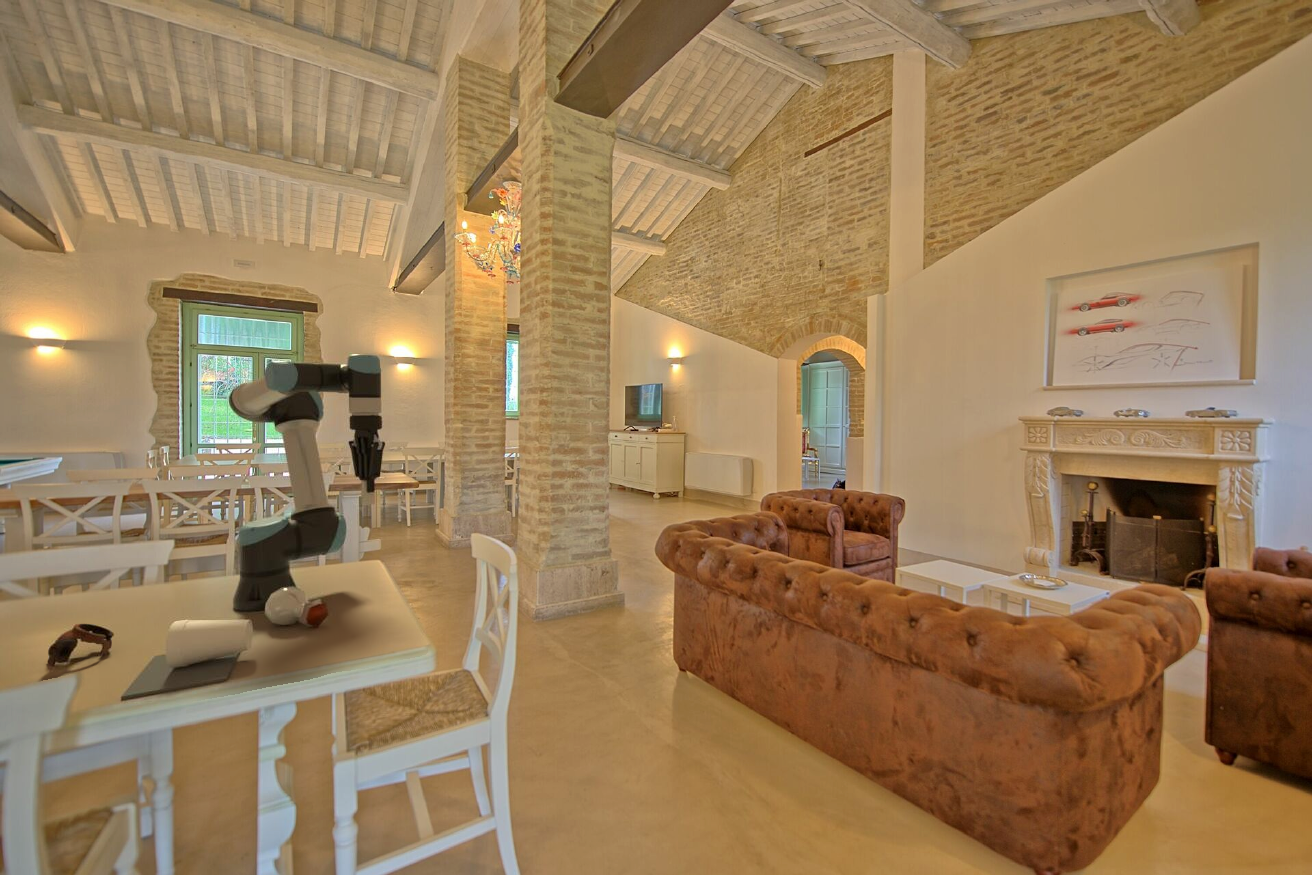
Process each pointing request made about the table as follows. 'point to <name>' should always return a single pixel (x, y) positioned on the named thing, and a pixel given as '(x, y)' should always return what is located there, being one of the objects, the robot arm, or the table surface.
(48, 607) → the table surface
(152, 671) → the mat
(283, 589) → the potion bottle
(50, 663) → the brown curved ring piece
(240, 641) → the foam cup
